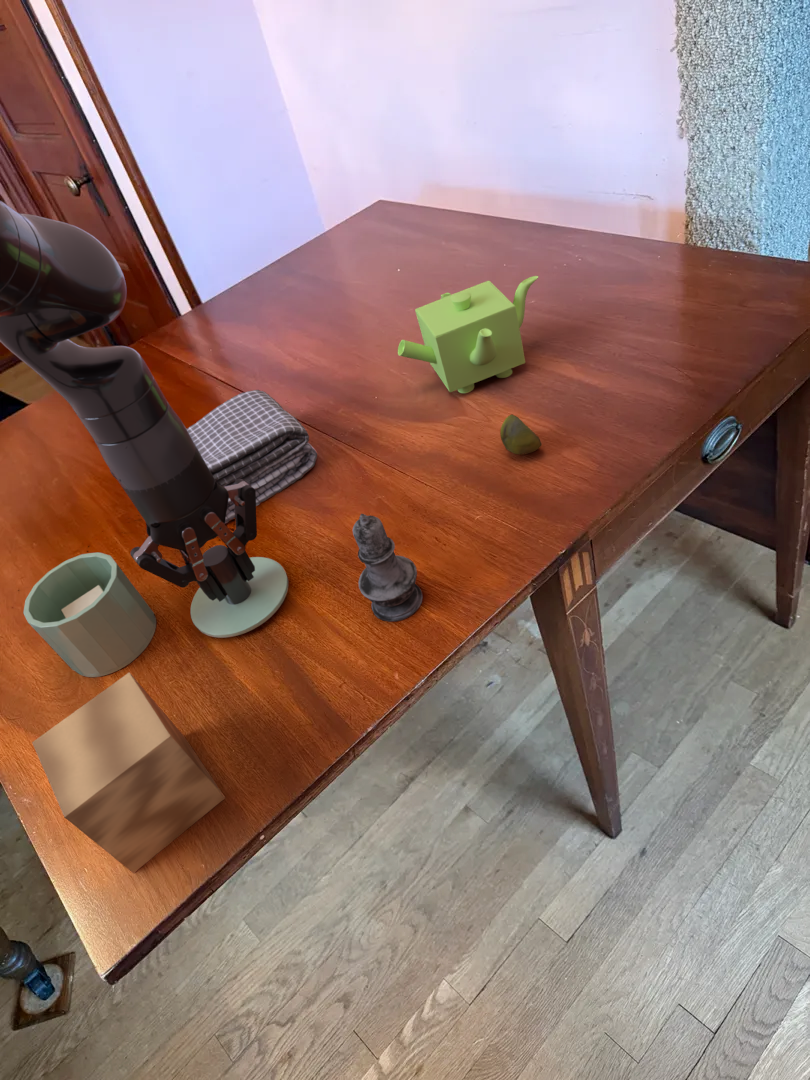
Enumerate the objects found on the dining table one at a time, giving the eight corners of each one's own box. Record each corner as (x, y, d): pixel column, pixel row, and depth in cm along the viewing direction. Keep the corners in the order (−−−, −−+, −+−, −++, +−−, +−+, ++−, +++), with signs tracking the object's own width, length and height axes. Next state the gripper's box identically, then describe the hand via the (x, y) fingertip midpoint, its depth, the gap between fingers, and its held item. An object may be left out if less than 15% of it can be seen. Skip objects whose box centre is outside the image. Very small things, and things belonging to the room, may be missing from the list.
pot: (87, 694, 77) (38, 643, 71) (59, 644, 83) (13, 594, 78) (170, 634, 80) (130, 581, 74) (136, 590, 87) (98, 539, 81)
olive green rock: (509, 438, 89) (502, 404, 85) (549, 440, 86) (543, 404, 83) (498, 463, 86) (490, 428, 83) (539, 465, 84) (532, 429, 80)
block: (98, 660, 79) (72, 631, 76) (86, 638, 82) (60, 609, 79) (136, 634, 80) (112, 605, 77) (122, 614, 83) (98, 584, 80)
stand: (133, 873, 61) (64, 817, 54) (97, 800, 67) (31, 742, 60) (225, 797, 63) (170, 735, 57) (183, 734, 70) (129, 671, 63)
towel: (327, 466, 94) (305, 416, 89) (198, 542, 90) (168, 494, 85) (280, 421, 105) (258, 374, 100) (163, 487, 101) (134, 441, 96)
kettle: (549, 343, 101) (537, 265, 94) (512, 406, 93) (496, 326, 86) (450, 341, 109) (432, 269, 101) (408, 399, 101) (385, 325, 93)
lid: (222, 659, 75) (190, 614, 70) (179, 606, 83) (147, 563, 78) (309, 594, 79) (284, 547, 74) (260, 549, 86) (235, 504, 81)
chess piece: (436, 587, 74) (405, 498, 67) (406, 630, 71) (370, 543, 63) (388, 573, 78) (353, 487, 70) (357, 615, 75) (317, 529, 67)
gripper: (100, 520, 63) (192, 645, 74) (238, 432, 67) (304, 563, 79) (73, 487, 68) (163, 609, 79) (203, 407, 72) (270, 533, 84)
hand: (233, 585), depth 79 cm, fingers closed on lid, 3 cm apart
